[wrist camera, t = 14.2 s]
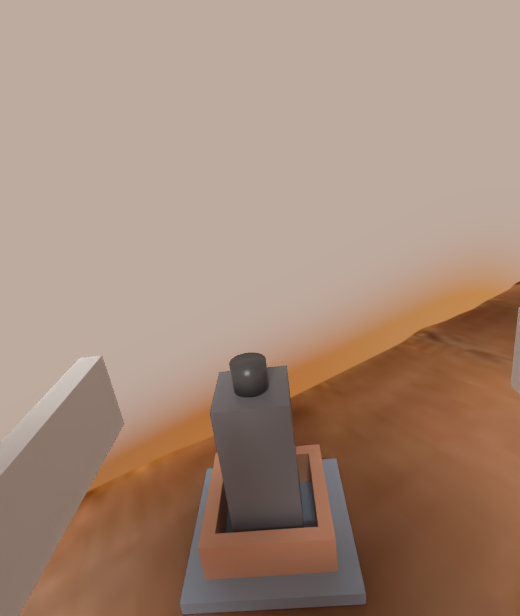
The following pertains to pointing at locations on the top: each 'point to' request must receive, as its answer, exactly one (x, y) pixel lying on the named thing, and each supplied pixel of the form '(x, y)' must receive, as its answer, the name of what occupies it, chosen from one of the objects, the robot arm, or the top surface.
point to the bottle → (257, 445)
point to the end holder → (275, 550)
